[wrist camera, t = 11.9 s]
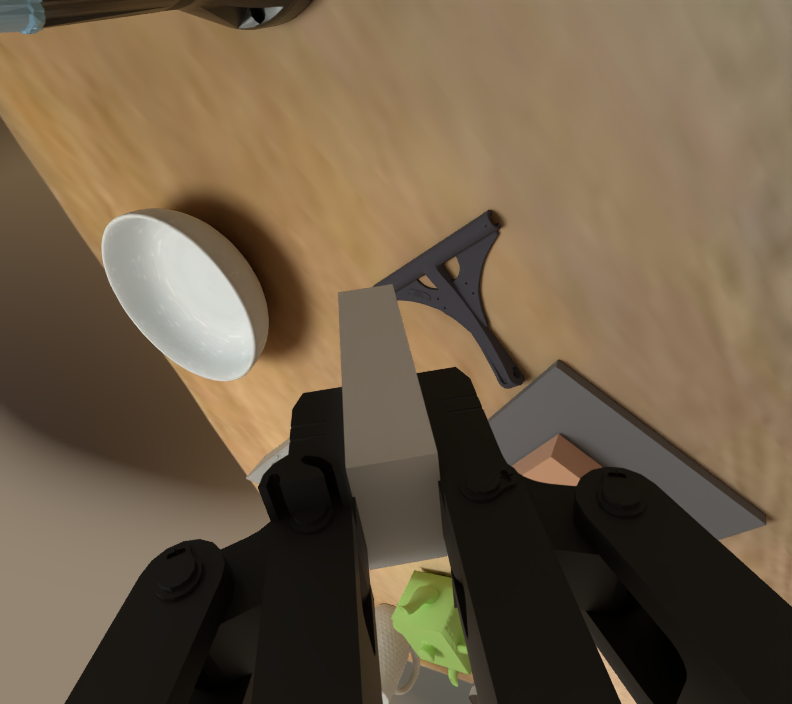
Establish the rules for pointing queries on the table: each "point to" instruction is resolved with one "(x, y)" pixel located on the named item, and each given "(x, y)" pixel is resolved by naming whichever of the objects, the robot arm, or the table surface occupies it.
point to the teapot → (433, 623)
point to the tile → (556, 463)
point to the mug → (393, 654)
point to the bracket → (459, 289)
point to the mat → (616, 446)
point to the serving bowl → (187, 291)
